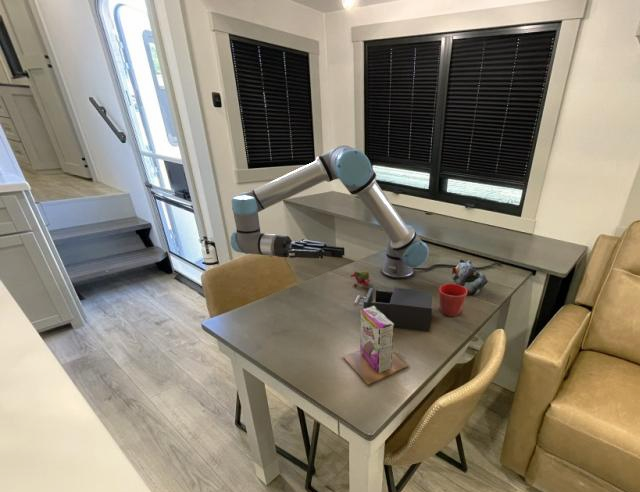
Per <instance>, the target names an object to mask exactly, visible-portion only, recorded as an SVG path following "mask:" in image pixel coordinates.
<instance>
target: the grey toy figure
mask: <svg viewBox="0 0 640 492" xmlns="http://www.w3.org/2000/svg"><path fill="white" fill-rule="evenodd" d="M475 267H476V266H475V265H474V264H472V261H471V260H467V261H465V260H464V259H460V260H459V262H458V264H457V267H451V279H452V280H453V282H454V284H457V285H460V286H463V287H465V288H466V289H467V295H468V296H474V295H477V294H479V293H480V292H481V290H482V288H483V287H485V286H486V284H488V282H489V280H488V279H487V277H486V275H485V274H484V273H483V272H481V271H478V270H477V269H476V268H475ZM467 295H466V296H467Z"/></svg>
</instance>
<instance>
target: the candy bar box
mask: <svg viewBox="0 0 640 492" xmlns="http://www.w3.org/2000/svg"><path fill="white" fill-rule="evenodd" d="M359 312H360V313H359V319H360V320H359V323H360V324H359V325H360V326H359V327H360V328H359V330H360V333H359V334H360V335H359V336H360V341H359V342H360V343H359V344H360V345H359V346H360V348H359V349H360V350H359V351H360V353H361V355H362V356H363V357H364V358H365V359H366V360H367V361H368V363H369V364H370V365H371V366H372V367H373V368H374V369H375V371H376V372H377V373H378V374H379V373H382V372H384V371H387V370H389V369H391V364H392V352H393V347H394V346H393V345H394V330H395V329H394V328H395V327H394V324H393V323H392V322H391V321H390V320H389V319H388V318H387V317H386V316H385V315H384V314H382V313H381V312H380V311H379V310H378V309H377V308H376V307H375V306H371V307H368V308H364V307H363V308H361V309H360V310H359Z"/></svg>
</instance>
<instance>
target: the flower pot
mask: <svg viewBox="0 0 640 492" xmlns="http://www.w3.org/2000/svg"><path fill="white" fill-rule="evenodd" d="M438 294H439V295H438V298H439V310H440V312H441V313H442V314H443V315H445V316H449V317H456V316H459V314H461V311H462V308H463V306H464V303H465V300H466V298H467V289H466V288H465V287H463V286H460V285H457V284H456V283H444V284H442V285H440V286H439V288H438Z"/></svg>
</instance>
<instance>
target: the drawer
mask: <svg viewBox="0 0 640 492" xmlns="http://www.w3.org/2000/svg"><path fill="white" fill-rule="evenodd" d="M392 294H393V290H391V291H389V290H384V289H383V290H382V289H375V301H374V287H369V289H368V291H367V294H366V296H362V295H361V294H358V295H357V296H356V298H355V300H354V301H353V306H354V307H357V306H363V308H368V307H371V306H375V307H376V308H377V309H378V310H379V311H380V312H381V313H382V314H384V315H385V316H386V317H387V318H388V319H389V305H390V301H391V297H392ZM361 300H364V301H363V302H361Z"/></svg>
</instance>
